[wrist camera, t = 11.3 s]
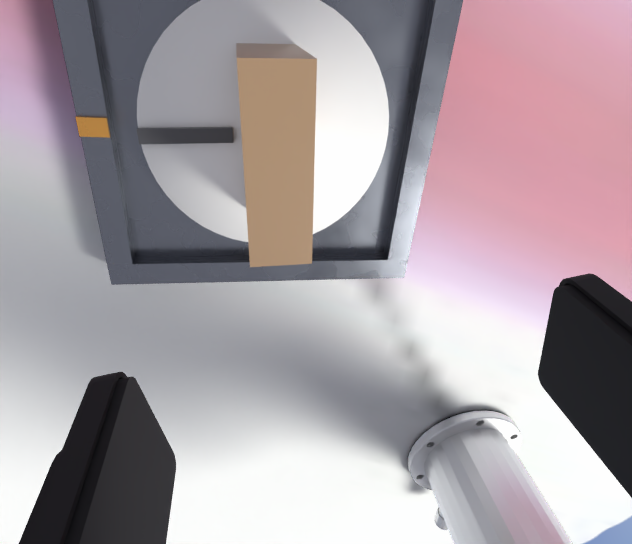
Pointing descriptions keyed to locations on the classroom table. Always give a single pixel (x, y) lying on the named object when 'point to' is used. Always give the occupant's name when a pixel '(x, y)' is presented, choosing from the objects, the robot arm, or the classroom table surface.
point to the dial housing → (201, 243)
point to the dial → (263, 121)
